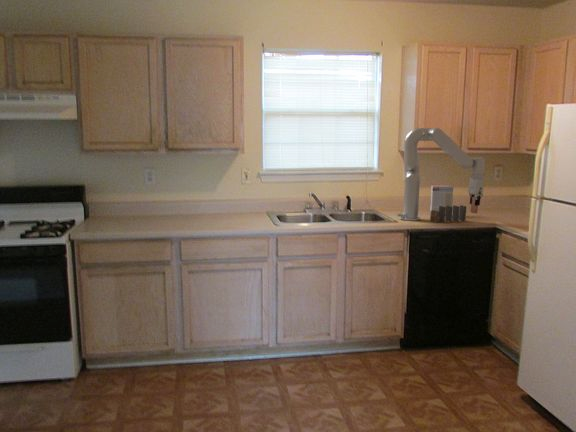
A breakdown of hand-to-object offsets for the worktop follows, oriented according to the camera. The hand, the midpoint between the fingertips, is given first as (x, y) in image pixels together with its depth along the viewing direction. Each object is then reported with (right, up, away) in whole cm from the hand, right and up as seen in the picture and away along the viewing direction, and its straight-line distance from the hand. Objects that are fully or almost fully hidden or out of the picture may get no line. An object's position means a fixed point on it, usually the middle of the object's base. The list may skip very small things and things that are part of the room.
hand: (474, 204), depth 330 cm
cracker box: (-14, -7, +27) cm, 31 cm away
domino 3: (-11, -11, +5) cm, 16 cm away
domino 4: (-6, -11, +6) cm, 14 cm away
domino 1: (-20, -11, +3) cm, 24 cm away
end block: (-25, -11, +2) cm, 28 cm away
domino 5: (0, -5, +1) cm, 6 cm away
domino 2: (-16, -11, +4) cm, 20 cm away
